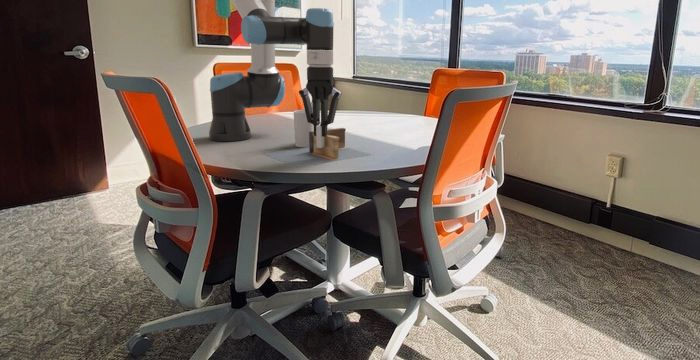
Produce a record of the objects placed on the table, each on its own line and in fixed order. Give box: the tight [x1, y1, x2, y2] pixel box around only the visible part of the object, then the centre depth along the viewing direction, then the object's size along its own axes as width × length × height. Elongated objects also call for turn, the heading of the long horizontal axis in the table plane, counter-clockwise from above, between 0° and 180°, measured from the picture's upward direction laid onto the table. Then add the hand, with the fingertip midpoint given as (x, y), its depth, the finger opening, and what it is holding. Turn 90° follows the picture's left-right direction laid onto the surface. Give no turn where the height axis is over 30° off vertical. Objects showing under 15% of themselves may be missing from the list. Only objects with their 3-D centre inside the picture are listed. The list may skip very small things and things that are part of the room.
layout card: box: [262, 146, 373, 168], centre depth 143 cm, size 21×27×1 cm
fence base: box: [309, 127, 346, 153], centre depth 148 cm, size 2×13×6 cm, turn 126°
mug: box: [293, 109, 314, 148], centre depth 156 cm, size 10×7×12 cm, turn 13°
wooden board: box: [313, 133, 339, 158], centre depth 140 cm, size 11×2×6 cm, turn 41°
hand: (320, 146), depth 138 cm, fingers closed
